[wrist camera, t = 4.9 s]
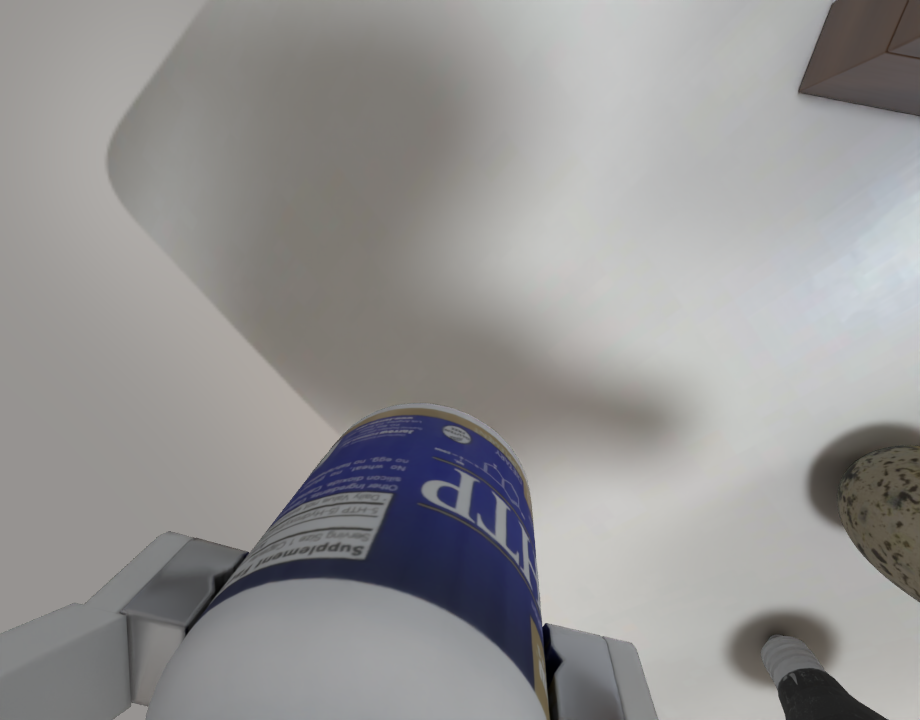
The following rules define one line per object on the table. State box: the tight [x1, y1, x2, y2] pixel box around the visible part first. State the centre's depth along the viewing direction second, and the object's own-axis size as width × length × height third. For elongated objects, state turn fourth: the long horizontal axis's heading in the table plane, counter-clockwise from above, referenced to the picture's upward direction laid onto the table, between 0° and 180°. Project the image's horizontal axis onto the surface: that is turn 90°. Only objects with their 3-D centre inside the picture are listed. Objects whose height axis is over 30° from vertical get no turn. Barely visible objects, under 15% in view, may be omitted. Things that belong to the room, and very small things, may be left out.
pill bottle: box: [146, 403, 550, 720], centre depth 7 cm, size 5×5×9 cm
